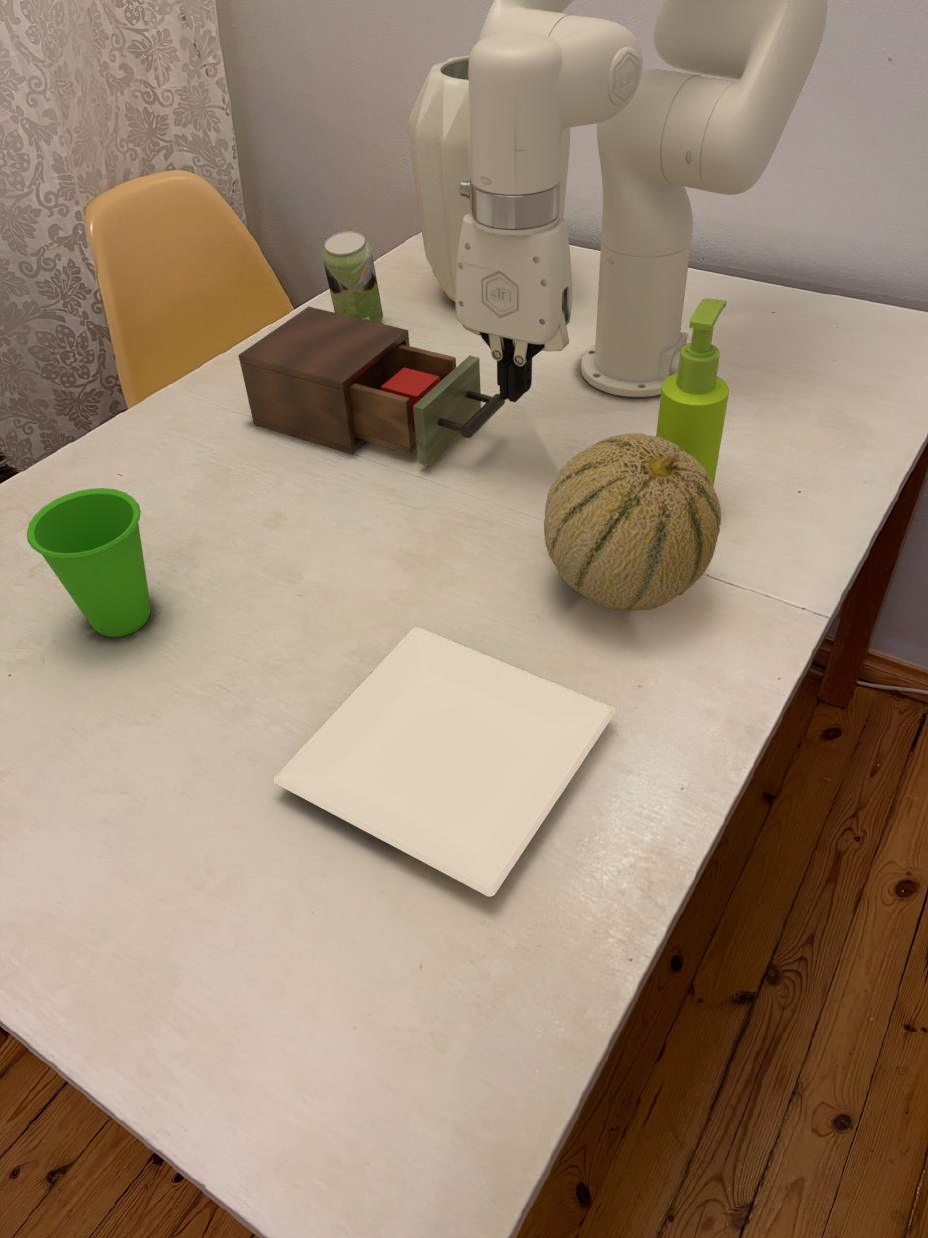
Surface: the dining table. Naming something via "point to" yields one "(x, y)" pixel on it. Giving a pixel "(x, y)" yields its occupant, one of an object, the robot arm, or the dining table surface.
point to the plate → (449, 756)
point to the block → (411, 386)
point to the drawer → (420, 403)
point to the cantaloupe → (632, 522)
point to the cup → (96, 556)
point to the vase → (449, 164)
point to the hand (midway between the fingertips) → (514, 394)
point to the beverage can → (352, 276)
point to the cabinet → (314, 374)
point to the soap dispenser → (696, 393)
